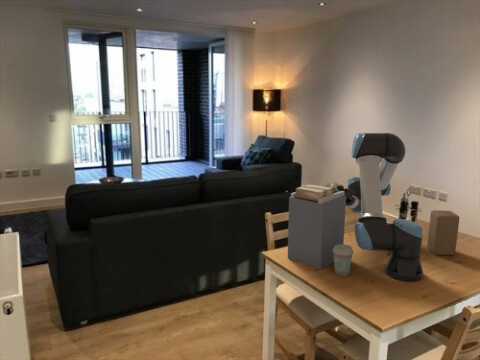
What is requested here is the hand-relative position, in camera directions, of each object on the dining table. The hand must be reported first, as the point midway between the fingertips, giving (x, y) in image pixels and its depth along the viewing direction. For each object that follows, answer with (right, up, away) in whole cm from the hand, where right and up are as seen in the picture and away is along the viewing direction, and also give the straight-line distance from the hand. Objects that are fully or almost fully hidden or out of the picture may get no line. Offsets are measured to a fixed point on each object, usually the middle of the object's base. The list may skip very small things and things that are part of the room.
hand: (329, 183), depth 182 cm
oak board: (-3, -5, -3) cm, 6 cm away
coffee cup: (+1, -39, -17) cm, 42 cm away
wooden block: (+57, -34, +6) cm, 66 cm away
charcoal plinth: (-7, -35, 0) cm, 36 cm away
